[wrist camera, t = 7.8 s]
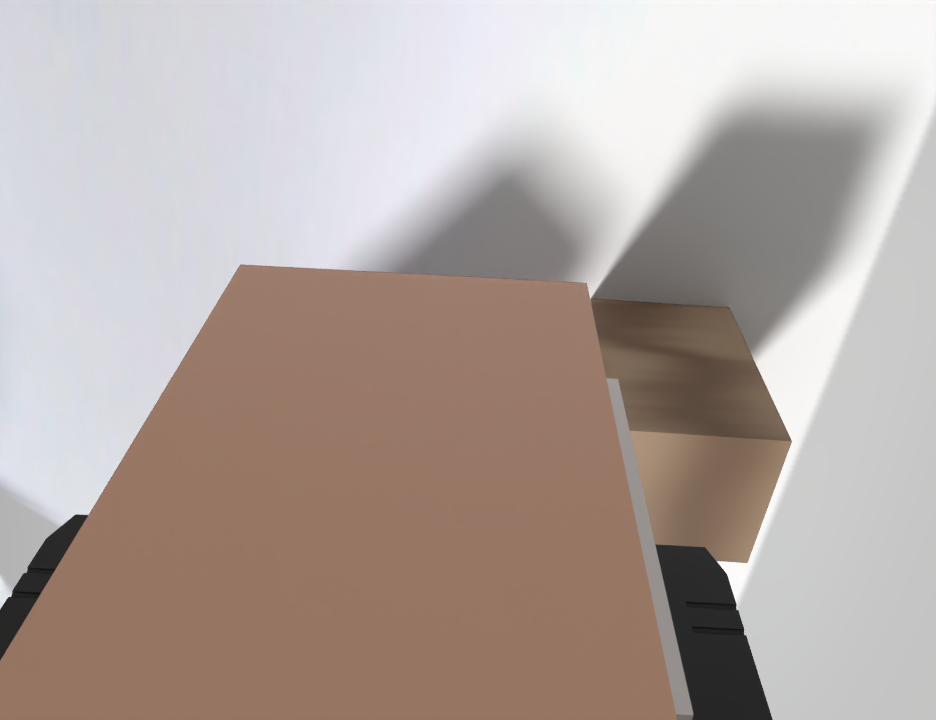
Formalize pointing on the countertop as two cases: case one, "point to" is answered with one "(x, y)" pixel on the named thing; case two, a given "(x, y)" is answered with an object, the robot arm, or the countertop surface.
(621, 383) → the walnut block
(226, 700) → the terracotta block
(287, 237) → the countertop surface
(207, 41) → the countertop surface
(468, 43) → the countertop surface
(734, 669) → the robot arm
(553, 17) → the countertop surface
